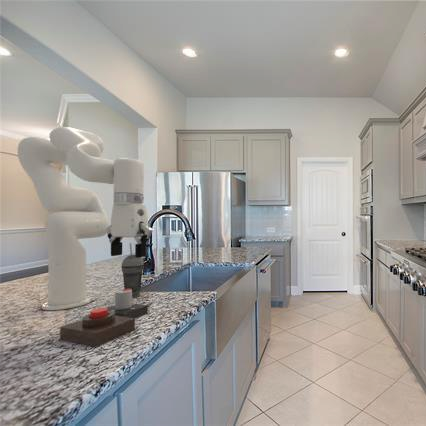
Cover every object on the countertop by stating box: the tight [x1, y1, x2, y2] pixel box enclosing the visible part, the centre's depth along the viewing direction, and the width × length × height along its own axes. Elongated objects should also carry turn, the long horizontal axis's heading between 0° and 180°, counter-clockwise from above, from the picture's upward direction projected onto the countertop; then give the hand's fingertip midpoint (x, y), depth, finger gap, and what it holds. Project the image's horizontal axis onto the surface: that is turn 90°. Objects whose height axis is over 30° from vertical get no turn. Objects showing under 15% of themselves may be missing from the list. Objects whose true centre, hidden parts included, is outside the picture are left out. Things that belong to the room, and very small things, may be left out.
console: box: [106, 302, 149, 319], centre depth 86 cm, size 10×8×3 cm
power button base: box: [59, 311, 136, 348], centre depth 72 cm, size 12×10×5 cm
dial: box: [114, 288, 133, 310], centre depth 86 cm, size 4×4×5 cm
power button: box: [89, 307, 108, 318], centre depth 72 cm, size 4×4×2 cm
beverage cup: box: [120, 242, 145, 299], centre depth 106 cm, size 7×7×20 cm
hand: (128, 256), depth 85 cm, fingers open, 9 cm apart
